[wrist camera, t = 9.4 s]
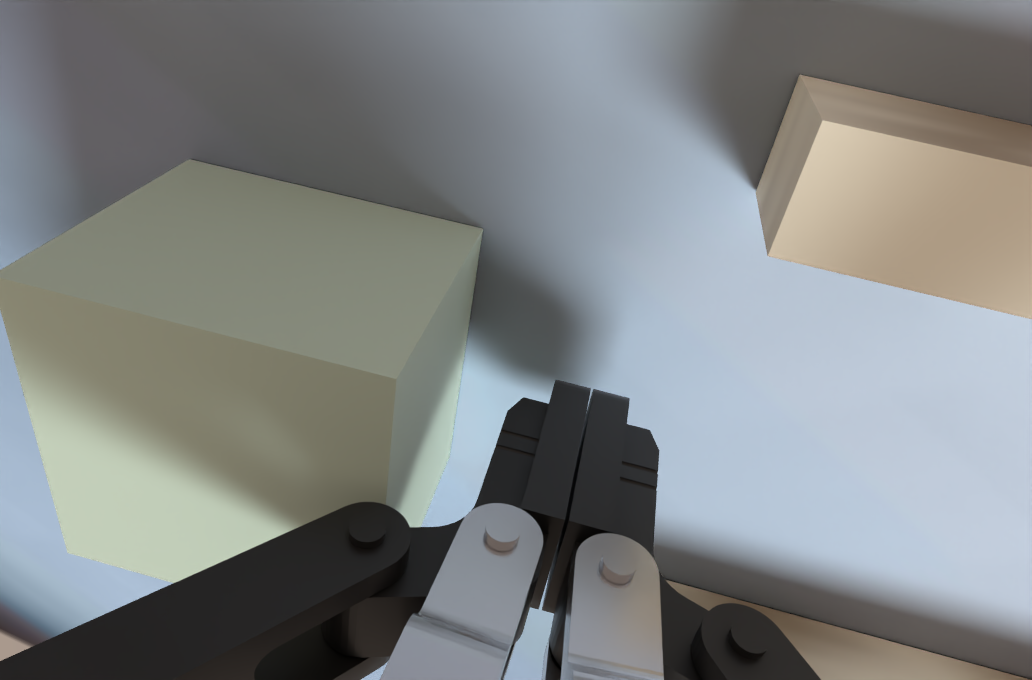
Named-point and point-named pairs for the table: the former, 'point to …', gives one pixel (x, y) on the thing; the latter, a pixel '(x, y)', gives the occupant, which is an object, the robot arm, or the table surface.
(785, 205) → the parallel wooden bars
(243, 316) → the sage block
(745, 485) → the table surface
